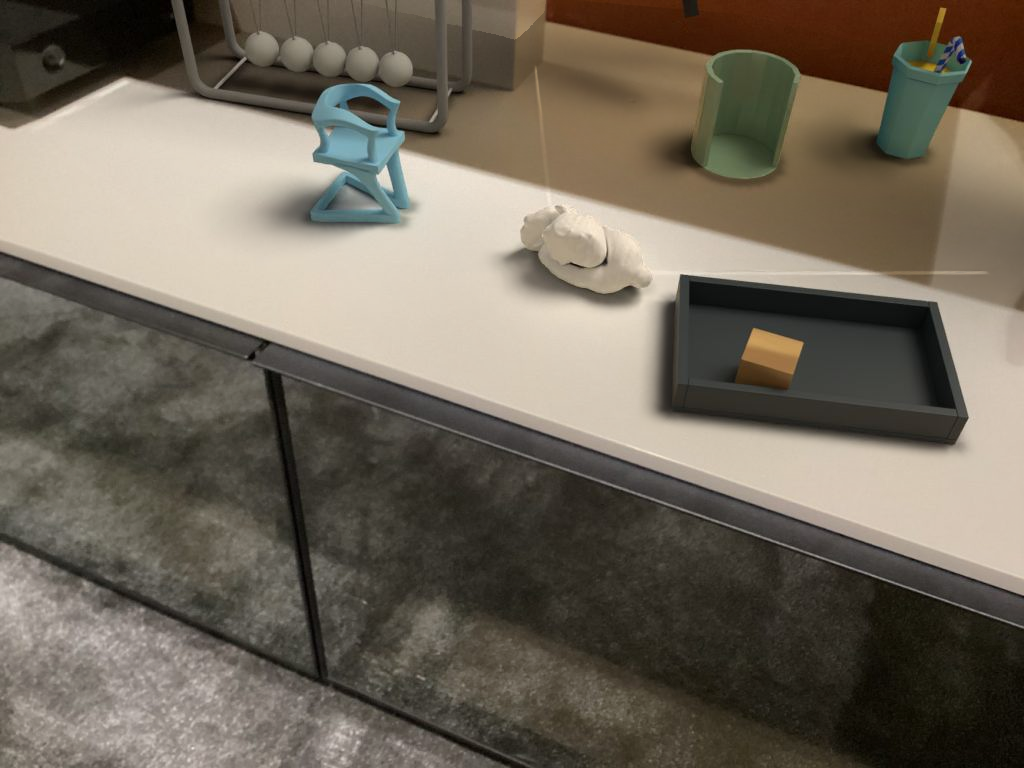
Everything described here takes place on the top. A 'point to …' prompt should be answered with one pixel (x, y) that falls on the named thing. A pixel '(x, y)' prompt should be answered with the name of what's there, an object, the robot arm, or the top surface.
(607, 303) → the top surface
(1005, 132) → the top surface
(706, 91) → the pouring cup
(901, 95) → the cup
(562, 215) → the baby figurine
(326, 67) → the newton's cradle
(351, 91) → the chair
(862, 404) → the tray
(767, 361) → the block
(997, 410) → the top surface
